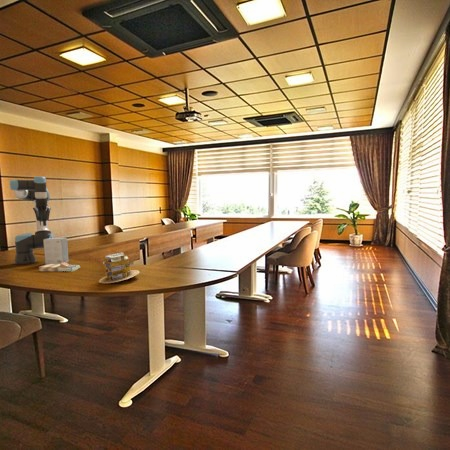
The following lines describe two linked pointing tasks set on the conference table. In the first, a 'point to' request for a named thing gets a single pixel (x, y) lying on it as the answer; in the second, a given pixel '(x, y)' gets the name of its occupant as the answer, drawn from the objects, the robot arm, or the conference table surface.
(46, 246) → the hard drive box
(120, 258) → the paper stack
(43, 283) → the conference table surface
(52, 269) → the board
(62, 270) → the tray
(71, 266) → the slate tile
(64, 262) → the terracotta tile
